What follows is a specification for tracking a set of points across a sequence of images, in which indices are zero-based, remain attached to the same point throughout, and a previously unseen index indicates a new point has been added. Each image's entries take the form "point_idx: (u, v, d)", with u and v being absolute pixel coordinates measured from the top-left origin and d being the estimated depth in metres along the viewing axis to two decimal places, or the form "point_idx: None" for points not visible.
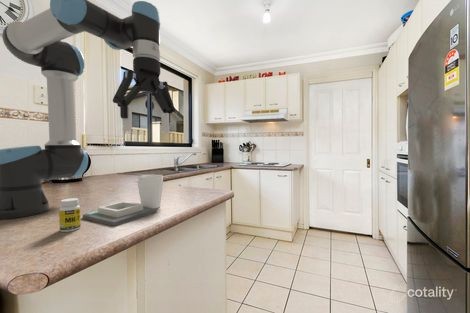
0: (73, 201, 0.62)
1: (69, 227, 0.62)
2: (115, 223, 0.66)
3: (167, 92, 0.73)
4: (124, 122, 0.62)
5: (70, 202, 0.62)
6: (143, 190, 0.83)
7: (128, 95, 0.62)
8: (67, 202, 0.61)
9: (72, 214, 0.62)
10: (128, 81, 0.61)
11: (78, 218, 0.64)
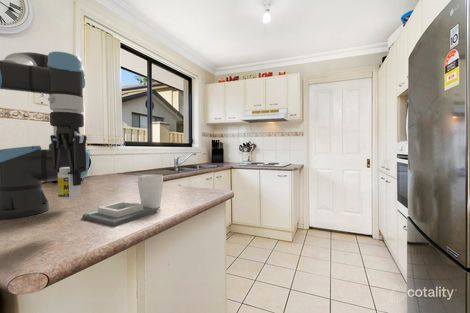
0: None
1: (67, 195, 0.62)
2: (115, 223, 0.66)
3: (74, 147, 0.60)
4: None
5: (68, 169, 0.62)
6: (143, 190, 0.83)
7: None
8: (65, 169, 0.62)
9: None
10: (52, 146, 0.65)
11: None
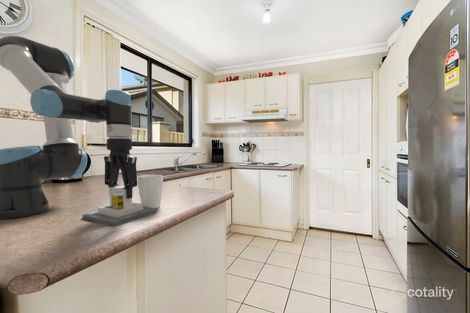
0: None
1: None
2: (115, 223, 0.66)
3: (128, 167, 0.73)
4: None
5: (121, 189, 0.75)
6: (143, 190, 0.83)
7: None
8: (119, 189, 0.74)
9: None
10: (105, 166, 0.78)
11: None
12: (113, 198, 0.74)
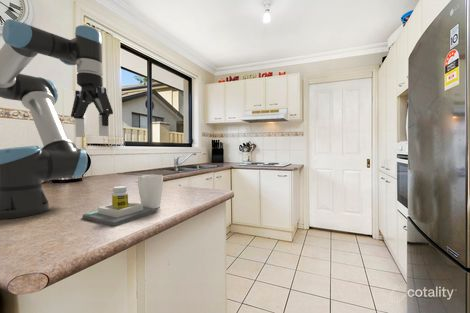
0: (123, 188, 0.75)
1: None
2: (115, 223, 0.66)
3: (99, 96, 0.75)
4: None
5: (121, 189, 0.75)
6: (143, 190, 0.83)
7: None
8: (119, 189, 0.74)
9: (122, 198, 0.75)
10: (75, 99, 0.81)
11: (127, 202, 0.76)
12: (113, 198, 0.74)
